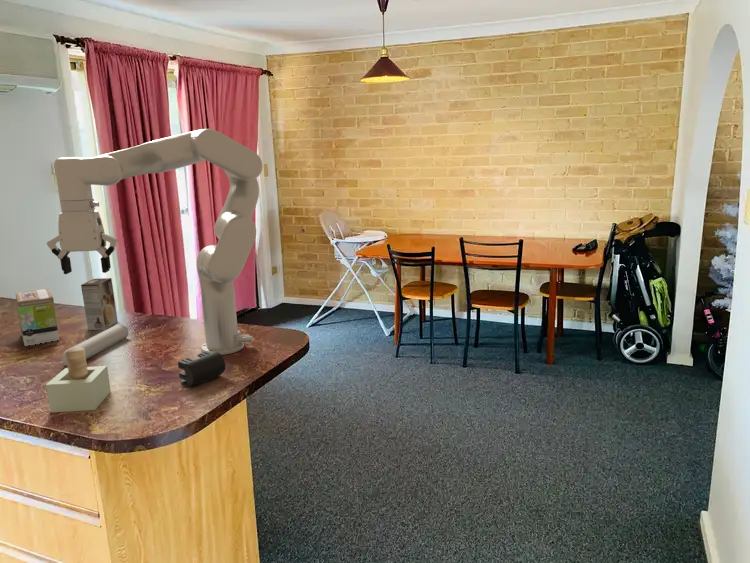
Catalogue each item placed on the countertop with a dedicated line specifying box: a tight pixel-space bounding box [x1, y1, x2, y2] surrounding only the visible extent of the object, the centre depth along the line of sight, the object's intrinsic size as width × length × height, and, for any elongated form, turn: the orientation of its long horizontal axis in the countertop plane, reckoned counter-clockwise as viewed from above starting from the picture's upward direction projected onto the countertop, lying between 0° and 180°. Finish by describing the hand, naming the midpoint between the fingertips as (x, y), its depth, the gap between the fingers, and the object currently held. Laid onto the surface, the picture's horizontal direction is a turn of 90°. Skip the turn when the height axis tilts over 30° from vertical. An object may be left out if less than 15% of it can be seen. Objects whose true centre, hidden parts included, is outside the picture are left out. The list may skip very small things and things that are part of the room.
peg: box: [65, 348, 88, 380], centre depth 134 cm, size 4×4×12 cm
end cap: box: [177, 352, 226, 388], centre depth 146 cm, size 10×7×7 cm
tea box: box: [15, 288, 60, 347], centre depth 182 cm, size 15×10×15 cm
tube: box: [61, 323, 129, 367], centre depth 169 cm, size 5×5×25 cm
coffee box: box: [80, 277, 119, 331], centre depth 192 cm, size 9×6×16 cm
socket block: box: [45, 365, 112, 413], centre depth 135 cm, size 10×10×7 cm
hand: (87, 272), depth 146 cm, fingers open, 9 cm apart
